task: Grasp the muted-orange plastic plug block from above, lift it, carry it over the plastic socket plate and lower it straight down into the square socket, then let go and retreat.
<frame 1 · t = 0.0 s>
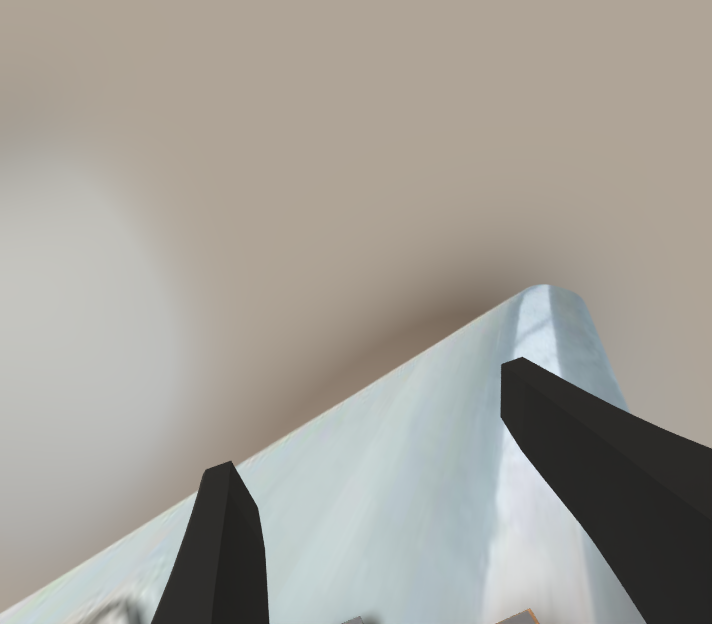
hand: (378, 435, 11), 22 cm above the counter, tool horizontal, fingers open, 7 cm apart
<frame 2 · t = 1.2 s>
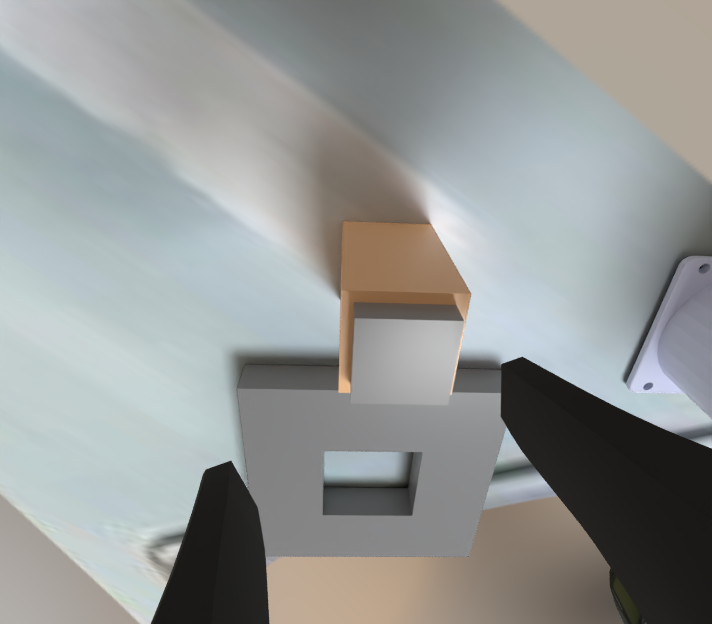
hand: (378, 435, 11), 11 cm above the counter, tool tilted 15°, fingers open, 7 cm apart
plug: (383, 263, 20), on the counter
mobile phone: (625, 550, 32), on the counter
socket plate: (368, 458, 26), on the counter
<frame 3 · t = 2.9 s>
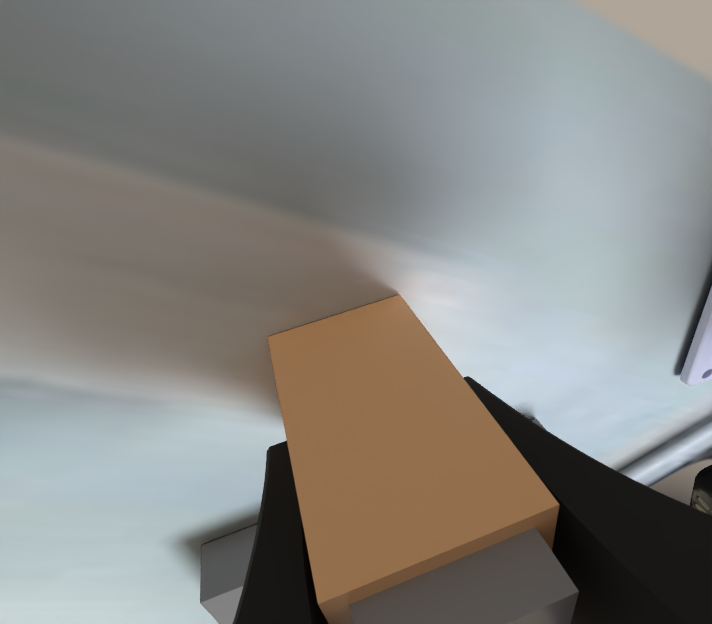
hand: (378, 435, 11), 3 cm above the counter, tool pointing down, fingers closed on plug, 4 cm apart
plug: (348, 366, 13), on the counter, touching gripper
mobile phone: (693, 513, 29), on the counter
socket plate: (399, 562, 21), on the counter
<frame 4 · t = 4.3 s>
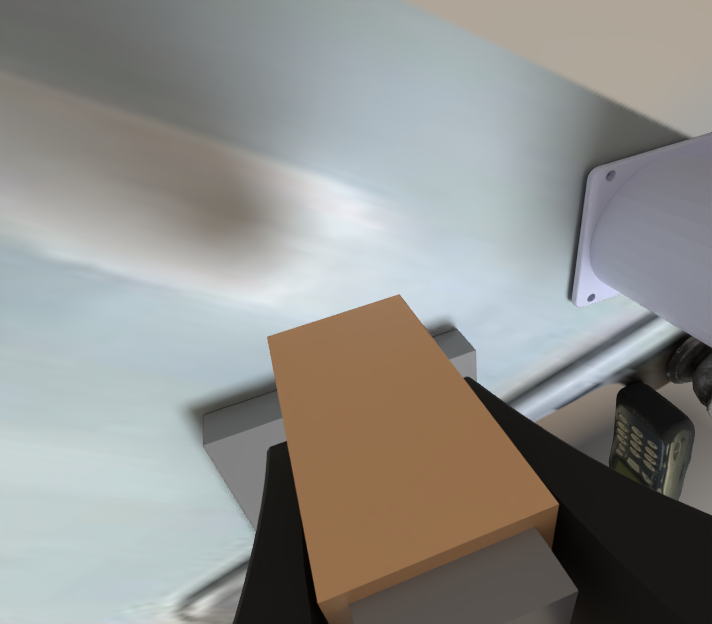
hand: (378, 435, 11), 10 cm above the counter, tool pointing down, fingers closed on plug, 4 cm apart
plug: (348, 366, 13), point 7 cm above the counter, touching gripper
mobile phone: (619, 438, 35), on the counter
socket plate: (359, 452, 26), on the counter
salt shaker: (694, 353, 31), on the counter
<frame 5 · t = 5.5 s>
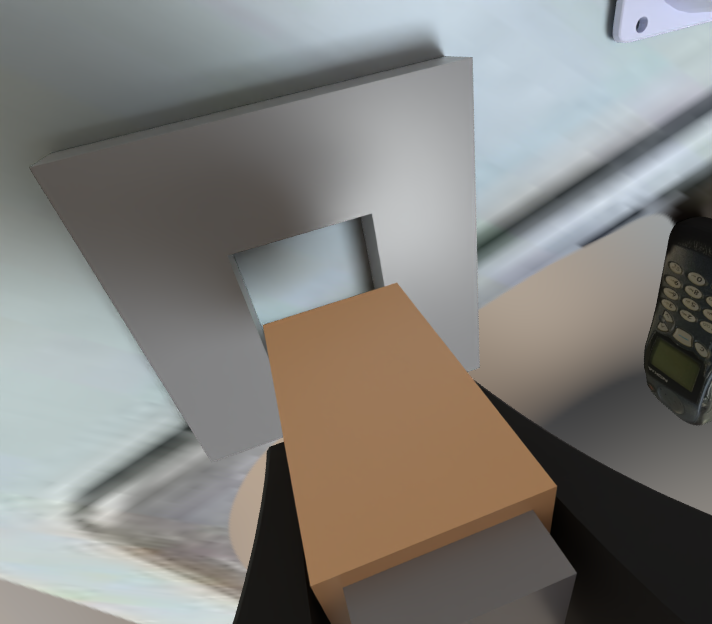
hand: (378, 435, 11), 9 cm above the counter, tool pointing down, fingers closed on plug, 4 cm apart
plug: (345, 355, 13), point 6 cm above the counter, touching gripper
mobile phone: (660, 316, 28), on the counter
socket plate: (309, 274, 19), on the counter
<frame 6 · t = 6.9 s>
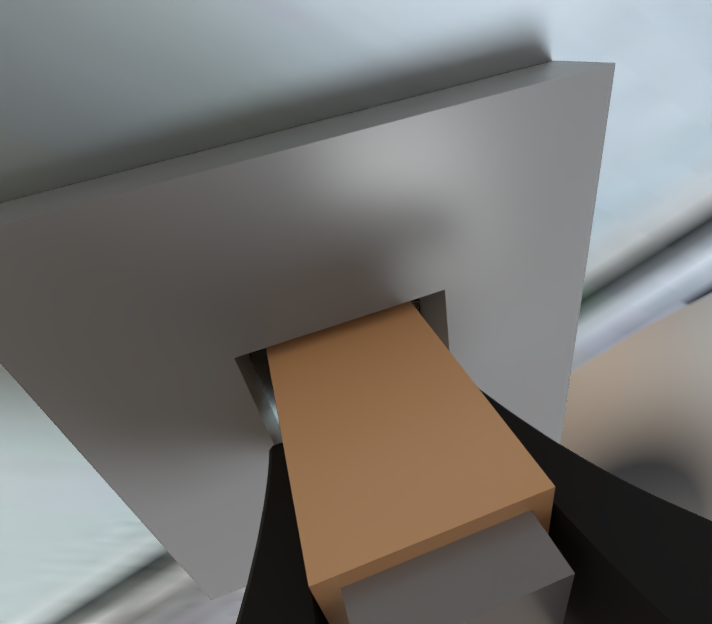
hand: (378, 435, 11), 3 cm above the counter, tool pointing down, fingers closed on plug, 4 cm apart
plug: (344, 356, 13), resting in socket plate, touching gripper
socket plate: (344, 357, 14), on the counter
when the fingers open (3 cm above the counter, at t = 7.2 s): plug stays where it is, resting in socket plate.
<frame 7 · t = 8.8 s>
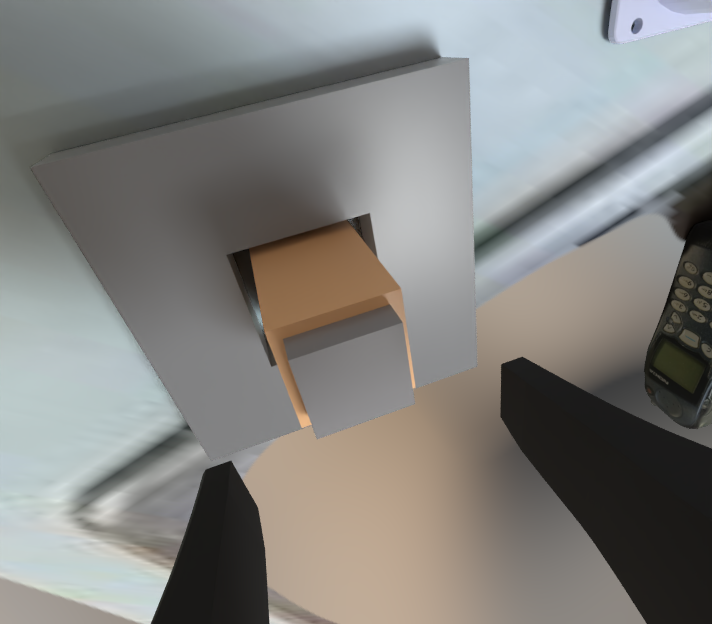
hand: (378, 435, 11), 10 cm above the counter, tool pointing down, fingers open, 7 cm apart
plug: (306, 266, 19), resting in socket plate
mobile phone: (665, 320, 28), on the counter
socket plate: (308, 273, 19), on the counter
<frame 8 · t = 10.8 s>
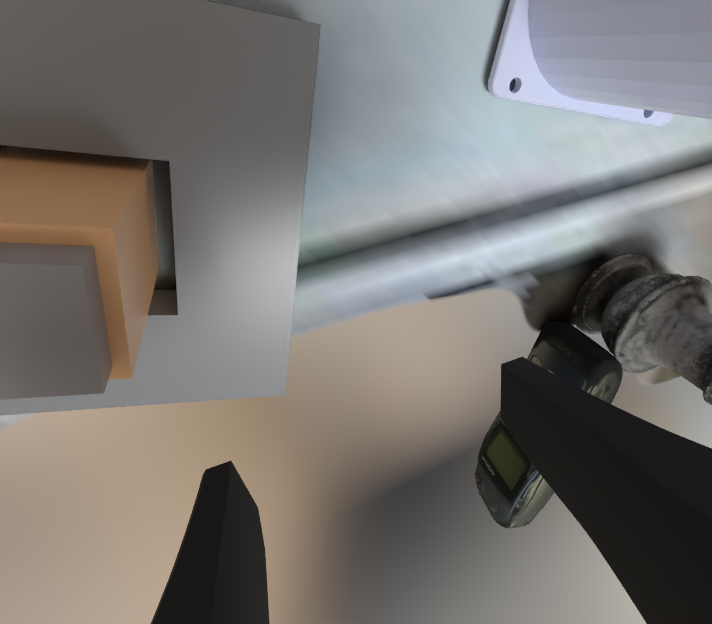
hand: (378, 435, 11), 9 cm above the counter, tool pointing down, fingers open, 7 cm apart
plug: (93, 210, 15), resting in socket plate
mobile phone: (508, 410, 28), on the counter
socket plate: (94, 220, 15), on the counter
salt shaker: (609, 293, 25), on the counter
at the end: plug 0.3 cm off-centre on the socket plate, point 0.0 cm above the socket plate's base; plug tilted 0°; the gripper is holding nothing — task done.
